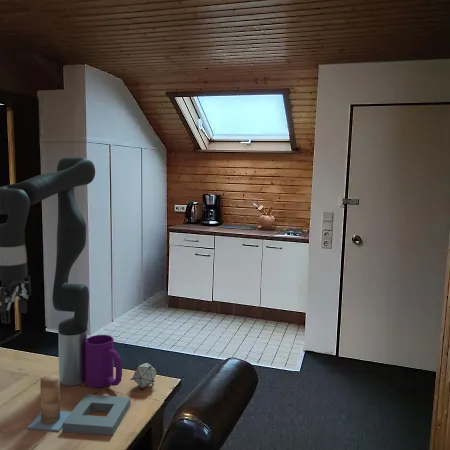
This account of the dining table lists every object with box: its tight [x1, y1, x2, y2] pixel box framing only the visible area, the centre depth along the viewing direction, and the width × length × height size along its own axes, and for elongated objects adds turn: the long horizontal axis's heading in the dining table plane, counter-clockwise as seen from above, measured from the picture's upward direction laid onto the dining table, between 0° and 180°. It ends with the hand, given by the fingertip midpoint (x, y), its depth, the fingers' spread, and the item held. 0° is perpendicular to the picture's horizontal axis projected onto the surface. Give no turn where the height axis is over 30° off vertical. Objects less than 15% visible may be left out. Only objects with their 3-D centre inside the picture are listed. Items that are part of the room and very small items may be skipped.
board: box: [62, 394, 132, 436], centre depth 127 cm, size 16×14×2 cm
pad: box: [27, 410, 72, 432], centre depth 125 cm, size 9×9×1 cm
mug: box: [85, 334, 123, 389], centre depth 146 cm, size 9×16×15 cm, turn 53°
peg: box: [39, 374, 61, 424], centre depth 124 cm, size 5×5×12 cm
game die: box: [129, 359, 160, 391], centre depth 147 cm, size 9×8×10 cm
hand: (14, 317), depth 124 cm, fingers open, 8 cm apart
